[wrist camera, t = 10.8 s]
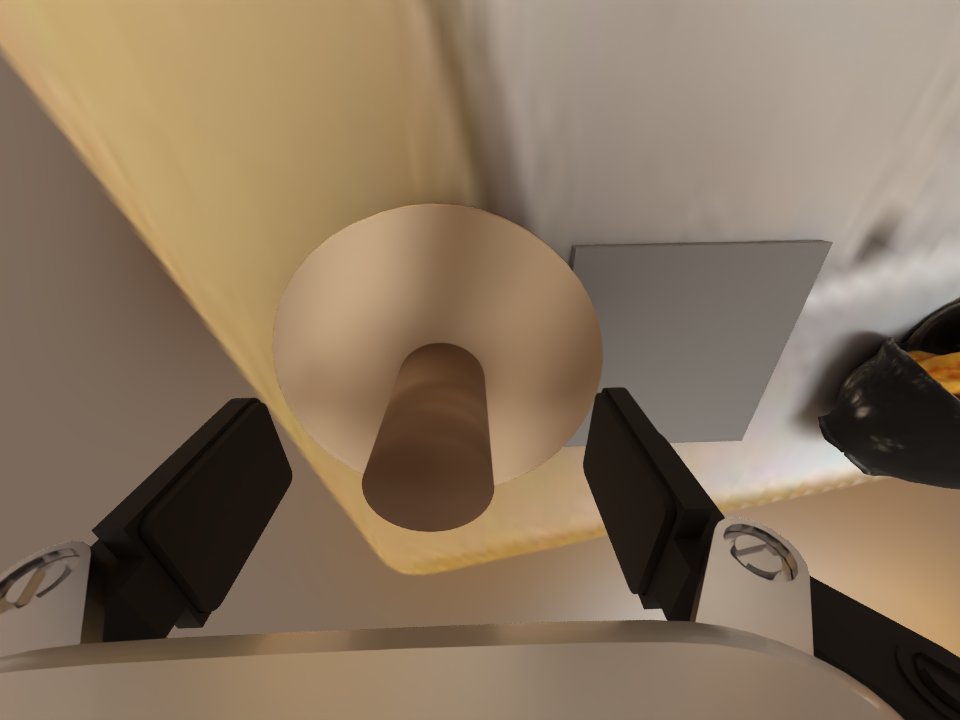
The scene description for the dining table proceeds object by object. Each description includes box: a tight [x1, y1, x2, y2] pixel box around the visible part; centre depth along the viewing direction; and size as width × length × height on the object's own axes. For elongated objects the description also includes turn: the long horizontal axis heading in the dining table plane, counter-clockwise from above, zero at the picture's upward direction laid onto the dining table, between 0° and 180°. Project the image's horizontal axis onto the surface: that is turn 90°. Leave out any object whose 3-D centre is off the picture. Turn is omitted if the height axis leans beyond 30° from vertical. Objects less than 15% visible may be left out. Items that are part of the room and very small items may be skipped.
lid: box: [273, 203, 603, 532], centre depth 11 cm, size 12×12×6 cm
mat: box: [563, 240, 833, 447], centre depth 20 cm, size 13×13×1 cm
